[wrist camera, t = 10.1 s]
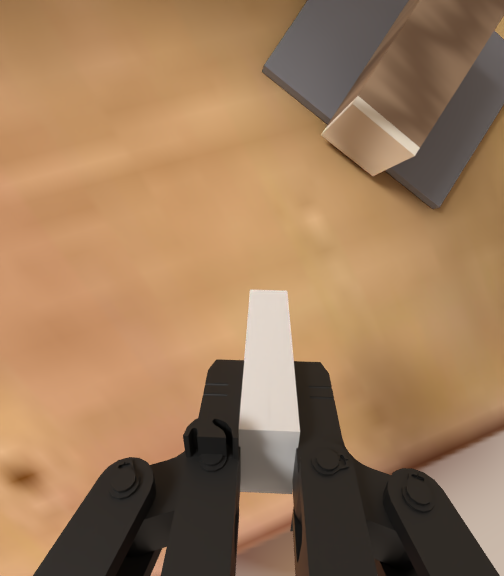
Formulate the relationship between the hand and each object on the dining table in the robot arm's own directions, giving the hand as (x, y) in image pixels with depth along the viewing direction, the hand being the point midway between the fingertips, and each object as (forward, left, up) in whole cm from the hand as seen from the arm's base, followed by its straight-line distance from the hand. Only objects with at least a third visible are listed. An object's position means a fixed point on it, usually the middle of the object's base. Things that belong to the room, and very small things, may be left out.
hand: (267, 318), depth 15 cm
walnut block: (+1, +13, -8) cm, 16 cm away
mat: (+1, +22, -11) cm, 25 cm away
